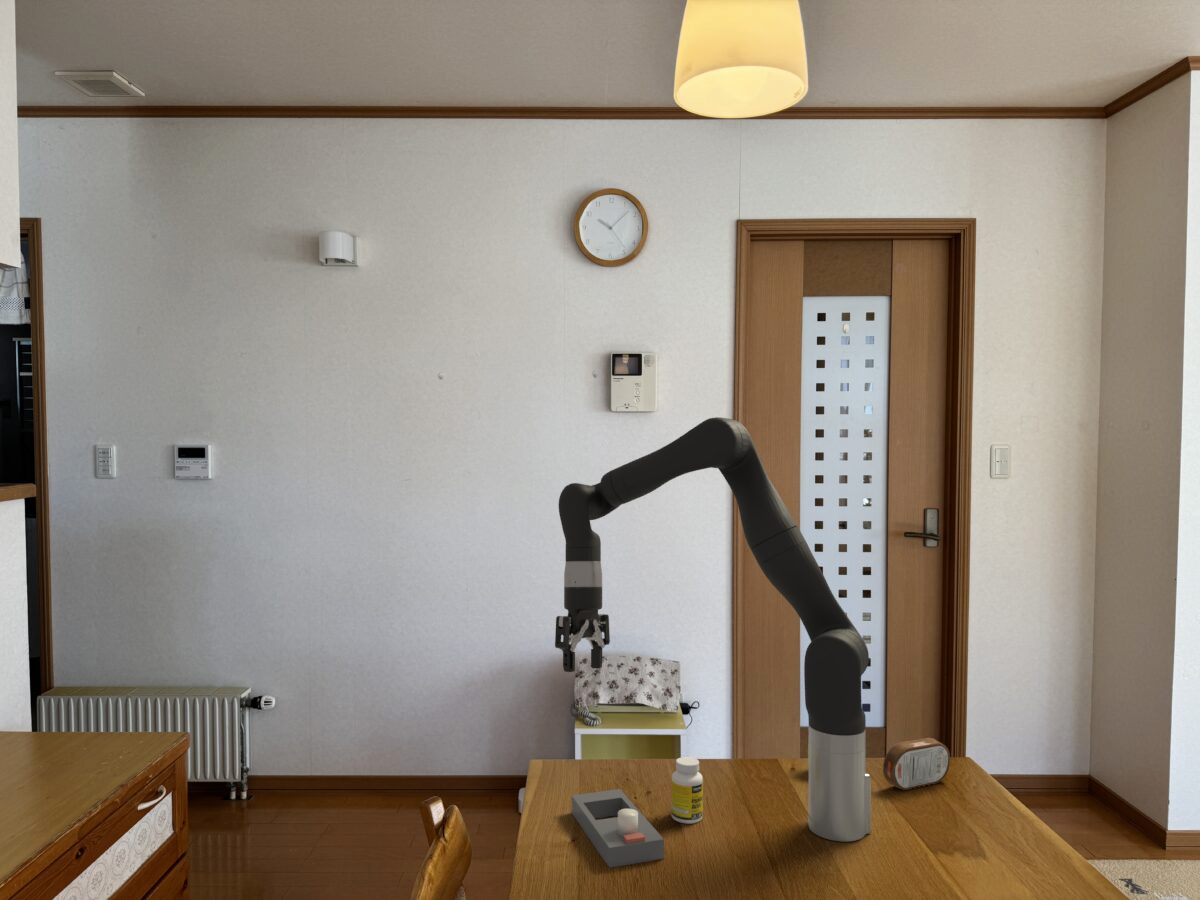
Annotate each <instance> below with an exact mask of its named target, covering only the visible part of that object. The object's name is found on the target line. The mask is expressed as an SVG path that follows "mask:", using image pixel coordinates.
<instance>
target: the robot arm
mask: <svg viewBox="0 0 1200 900" xmlns="http://www.w3.org/2000/svg"><path fill="white" fill-rule="evenodd" d="M710 468H711V469H712V468H713V469H718V470H719V472H720V473H721V475H722V476H723V478H724V479H725V481H726V483H727V484H728V486H729V488H730V489H731V492H732V494H733V496H734V497H735V500H736V503H737V506H738V512H739V516H740V522H741V526H742V530H743V534H744V537H745V540H746V542H747V545H748V547H749V549H750V551H751V553H752V555H753V556H754V559H755V560H756V563H757V564H758V566H759V567H760V570H761V571H762V573H763V574H764V576H765V577H766V578H767V580H768V581H769V583H770V584H771V585H773V587H774V588H775V589H776V590H777V591H778V592H779V594H780V595H781V596H783V598H784V599H786V601H787V602H788V603H789V604H790V606H791V607H792V608H793V609H794V611H795V612H796V614H797V616H798V617H799V618H800V620H801V622H802V624H803V627H804V629H805V631H806V633H807V635H808V637H809V640H810V643H809V644H808V646H807V647H806V650H805V653H804V663H803V664H804V665H803V667H804V668H803V669H804V670H803V673H804V675H803V676H804V681H803V682H804V704H805V710H806V712H807V717H808V743H809V759H808V815H807V816H808V828H809V830H810V831H811V832H812V833H813V834H815V835H817V836H818V837H821V838H823V839H827V840H830V841H834V842H855V841H858V840H861V839H863V838H864V837H865V836H866V834H867V835H868V834H871V833H872V831H871V830H872V820H871V819H872V815H871V814H872V804H871V803H872V802H871V799H872V797H871V796H872V790H871V789H872V787H871V786H872V782H871V781H872V780H871V779H872V778H871V775H870V774H869V773H868V772H866V771H867V770H866V768H867V767H866V766H867V765H866V760H867V758H866V756H867V755H866V750H867V749H866V728H867V726H866V722H867V721H866V714H865V712H864V710H863V706H862V676H863V674H864V673H865V672H866V670H867V668H868V666H869V661H870V657H869V650H868V649H869V648H868V647H867V644H866V643H865V640H864V638H863V637H862V635H861V634H860V633H859V631H858V630H857V628H856V627H855V625H854V624H853V622H852V621H851V620H850V618H849V617H848V615H847V614H846V612H845V611H844V609H843V608H842V606H841V605H840V603H839V601H837V599H836V597H835V595H834V594H833V592H832V590H831V588H830V586H829V584H828V581H827V580H826V577H825V576H824V573H823V572H822V570H821V568H820V566H819V564H818V562H817V560H816V558H815V556H814V555H813V553H812V550H811V549H810V547H809V545H808V543H807V541H806V539H805V537H804V535H803V533H802V532H801V529H800V528H799V526H798V525H797V523H796V520H794V518H793V516H792V515H791V513H790V511H789V509H788V508H787V506H786V504H785V503H784V500H783V499H782V497H781V495H780V494H779V492H778V490H777V489H776V488H775V486H774V485H773V483H772V481H771V479H770V478H769V475H768V473H767V471H766V469H765V467H764V464H763V462H762V460H761V458H760V455H759V453H758V450H757V448H756V446H755V443H754V441H753V439H752V436H751V434H750V432H749V431H748V429H747V428H746V427H745V426H744V424H742V423H741V422H739V421H738V420H735V419H732V418H727V417H717V416H716V417H711V418H710V417H709V418H708V419H705V420H704V421H701V422H700V423H699V424H697V425H696V426H694V427H692V428H691V429H689V430H687V432H686V433H684V434H682V435H681V436H679V437H678V438H676V439H675V440H673V441H672V442H669V443H668V444H666V445H665V446H663V447H661V448H658V449H657V450H655V451H653V452H650V453H648V454H646V455H644V456H642V457H639V458H637V459H634V460H632V461H629V462H628V463H625V464H623V465H620V466H618V467H616V468H613V469H612V470H611V469H610V470H609V471H608V472H606V473H604V475H603V476H602V477H601V478H600V482H598V483H596V484H592V485H590V484H584V483H579V482H574V483H573V482H572V483H570V484H569V483H568V484H567V485H566V486H564V487H563V489H562V491H561V492H560V495H559V498H558V515H559V519H560V524H561V528H562V533H563V536H564V539H565V566H564V573H563V574H564V575H563V577H564V578H563V579H564V580H563V582H564V584H563V587H564V588H563V591H564V592H563V605H564V606H563V607H564V609H565V610H566V611H567V615H557V616H556V617H555V618H556V619H555V637H554V648H556V649H559V650H561V651H562V667H563V671H564V672H565V673H575V671H576V651H575V649H576V648H577V646H578V643H580V642H581V641H582V639H586V640H587V641H588V643H589V645H590V646H591V648H590V668H591V669H601V668H602V667H603V649H604V648H605V646H607V645H610V643H611V640H610V639H611V638H610V637H611V636H610V616H609V614H603V613H599V610H601V609H603V570H602V559H601V558H602V557H601V555H602V554H601V551H602V549H601V547H602V545H601V544H602V543H601V537H600V535H599V534H598V533H597V532H595V531H594V530H593V529H592V524H591V521H594V520H598V519H601V518H603V517H605V516H607V515H609V514H610V513H612V512H613V511H615V510H616V509H617V508H619V507H620V506H622V505H624V504H627V503H629V502H632V501H635V500H636V499H640V498H641V497H644V496H647V495H648V494H651V493H652V492H654V491H656V490H657V489H659V488H660V487H662V486H664V485H665V484H666V483H668V482H669V481H672V480H674V479H676V478H678V477H680V476H683V475H686V474H689V473H692V472H696V471H701V470H705V469H710ZM602 633H603V634H602ZM562 636H563V637H562ZM562 639H563V640H562Z"/></svg>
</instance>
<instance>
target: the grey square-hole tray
mask: <svg viewBox="0 0 1200 900" xmlns="http://www.w3.org/2000/svg"><path fill="white" fill-rule="evenodd" d="M571 814H572V815H573V817H574V819H575V820H576V821H577V823H578V824H579V826H580V827H581V829H582V828H583V829H582V830H583V832H584V833H585V834H586V836H587V837H588V839H589V841H590V842H591V843H592V844H593V846H594V848H595V849H596V851H597V852H598V853H599V856H600V857H601V858H602V859H603V861H604V862H605V864H606V863H607V864H606V865H607V867H608V866H609V867H608V868H609V869H611V868H616V867H622V866H623V867H624V866H628V865H633V864H640V863H641V864H642V863H647V862H653V861H658V860H659V861H660V860H665V839H664V838H663V837H662V835H661V834H660V833H659V832H658V830H656V828H655V827H654V826H653V825H652V823H650V822H649V820H648V819H647V818H646V816H644V814H642V812H641V811H640V810H639V809H638V808H637V807H636V805H635V804H634V803H633V802H632V801H631V800H630V799H629V797H627V795H626V794H625V793H624V792H623V791H622V790H621V789H620V788H618V789H611V790H610V789H609V790H602V791H597V792H596V791H595V792H594V791H593V792H587V793H580V794H573V795H571ZM609 816H610V817H609Z"/></svg>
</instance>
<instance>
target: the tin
mask: <svg viewBox="0 0 1200 900" xmlns="http://www.w3.org/2000/svg"><path fill="white" fill-rule="evenodd" d="M950 763H951V754H950V751H949V748H948V747H947V746H946V745H945V744H943V743H942V742H941V741H938V740H937V739H935V738H932V737H926V738H920V739H915V740H913V739H912V740H908V741H901V742H898V743H895V744H894V745H893V746H892V747H891V748H890V749H889V750H888V751H887V752H886V755H885V756H884V760H883V764H882V772H883V776H884V779H885V780H886V781H887V783H888V784H890V785H892V786H894V787H896V788H898V789H899V790H904V791H907V790H913V789H917V788H916V787H918V788H921V787H920V786H923V787H926V786H925V785H928V786H931V785H930V784H933V785H936V784H935V783H937V784H938V783H940V782H942V780H944V779H945V777H946V776H947V774H948V772H949V770H950ZM912 788H913V789H912Z"/></svg>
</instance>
